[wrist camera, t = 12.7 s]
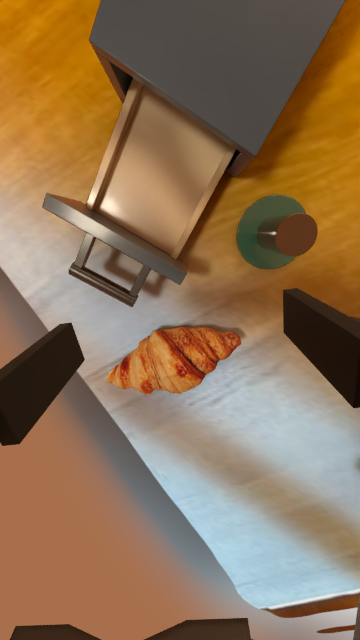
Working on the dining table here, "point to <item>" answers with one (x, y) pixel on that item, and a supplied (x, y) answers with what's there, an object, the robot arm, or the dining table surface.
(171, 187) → the drawer
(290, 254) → the lid
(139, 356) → the croissant
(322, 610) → the dining table surface
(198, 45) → the cabinet
